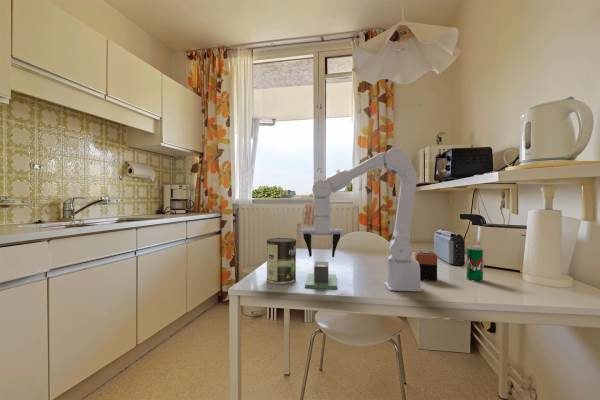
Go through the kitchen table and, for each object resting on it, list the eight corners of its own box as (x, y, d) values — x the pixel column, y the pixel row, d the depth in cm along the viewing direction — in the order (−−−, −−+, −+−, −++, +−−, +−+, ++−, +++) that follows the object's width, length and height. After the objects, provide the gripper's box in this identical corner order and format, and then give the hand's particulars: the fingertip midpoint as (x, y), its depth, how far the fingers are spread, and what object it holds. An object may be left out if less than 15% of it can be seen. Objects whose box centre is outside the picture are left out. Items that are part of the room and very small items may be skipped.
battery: (437, 281, 99) (437, 252, 99) (416, 279, 101) (416, 251, 101) (435, 278, 104) (435, 250, 104) (414, 276, 105) (415, 249, 105)
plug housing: (328, 276, 101) (328, 261, 101) (328, 282, 93) (328, 266, 93) (315, 275, 101) (315, 261, 101) (314, 282, 93) (314, 266, 93)
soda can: (482, 279, 103) (482, 245, 103) (484, 282, 98) (484, 247, 98) (465, 277, 105) (466, 244, 105) (467, 280, 100) (467, 246, 101)
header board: (335, 277, 104) (335, 267, 104) (336, 289, 90) (336, 277, 90) (308, 276, 105) (308, 266, 105) (305, 287, 91) (305, 276, 91)
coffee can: (299, 277, 103) (299, 238, 103) (291, 285, 93) (291, 242, 93) (272, 275, 106) (272, 237, 106) (261, 282, 96) (261, 240, 96)
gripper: (342, 216, 101) (342, 254, 100) (301, 215, 102) (301, 253, 102) (343, 217, 94) (343, 258, 93) (299, 216, 95) (299, 257, 95)
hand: (321, 256), depth 97 cm, fingers open, 7 cm apart
